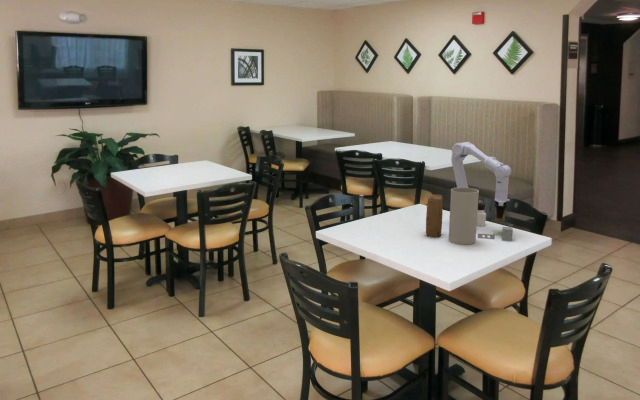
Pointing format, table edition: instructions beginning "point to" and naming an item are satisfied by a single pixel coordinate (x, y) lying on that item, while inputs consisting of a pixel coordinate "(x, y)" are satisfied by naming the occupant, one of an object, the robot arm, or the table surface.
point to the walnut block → (499, 218)
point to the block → (434, 215)
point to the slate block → (507, 233)
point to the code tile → (486, 236)
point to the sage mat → (497, 232)
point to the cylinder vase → (463, 215)
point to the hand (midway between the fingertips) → (499, 216)
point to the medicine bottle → (481, 214)
